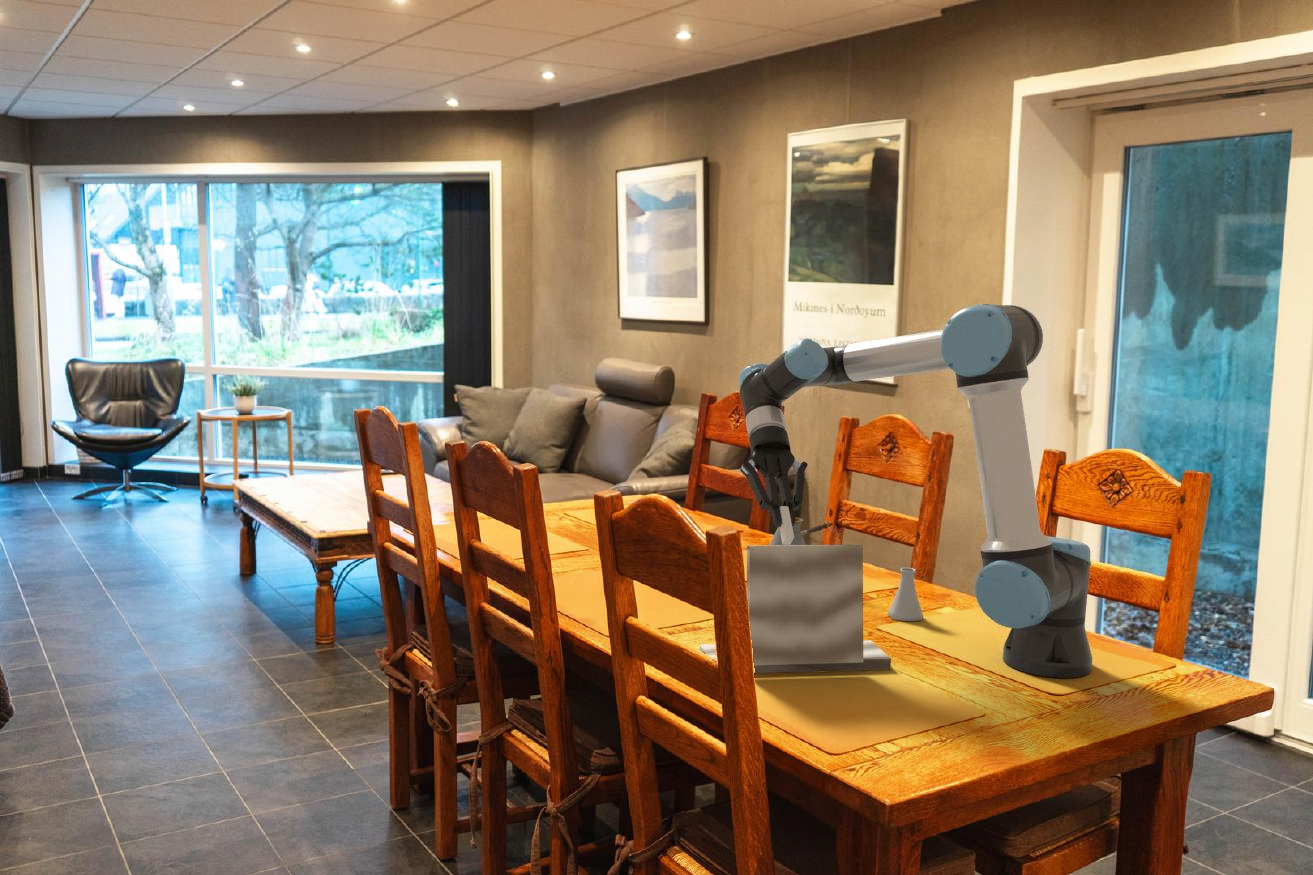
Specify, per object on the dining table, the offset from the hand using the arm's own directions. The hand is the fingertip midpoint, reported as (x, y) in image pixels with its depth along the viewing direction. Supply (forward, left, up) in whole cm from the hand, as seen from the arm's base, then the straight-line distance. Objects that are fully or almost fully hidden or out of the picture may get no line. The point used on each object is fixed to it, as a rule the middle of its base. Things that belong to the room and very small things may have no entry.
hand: (788, 540), depth 199 cm
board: (-6, +3, -20) cm, 22 cm away
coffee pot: (+33, -40, -21) cm, 56 cm away
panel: (-11, +6, -8) cm, 15 cm away
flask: (0, -36, -21) cm, 41 cm away
